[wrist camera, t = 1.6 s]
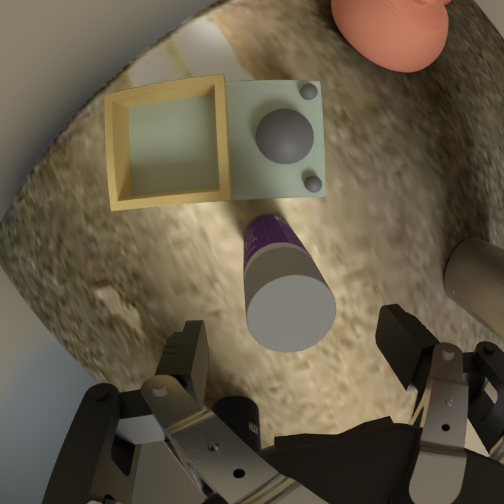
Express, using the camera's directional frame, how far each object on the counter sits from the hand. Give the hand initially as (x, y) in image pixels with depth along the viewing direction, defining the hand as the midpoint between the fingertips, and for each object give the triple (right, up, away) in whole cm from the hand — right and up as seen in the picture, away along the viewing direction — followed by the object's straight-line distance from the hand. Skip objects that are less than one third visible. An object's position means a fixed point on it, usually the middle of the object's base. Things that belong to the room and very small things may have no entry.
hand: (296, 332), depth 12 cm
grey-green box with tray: (-5, +13, +13) cm, 19 cm away
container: (0, +5, +16) cm, 17 cm away
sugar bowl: (+12, +28, +9) cm, 32 cm away
